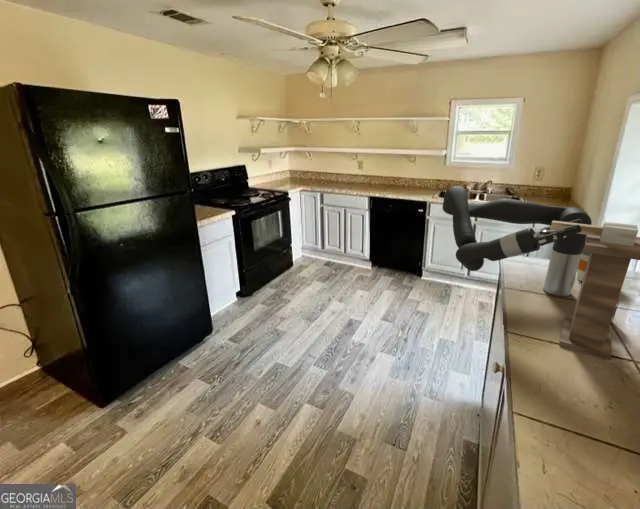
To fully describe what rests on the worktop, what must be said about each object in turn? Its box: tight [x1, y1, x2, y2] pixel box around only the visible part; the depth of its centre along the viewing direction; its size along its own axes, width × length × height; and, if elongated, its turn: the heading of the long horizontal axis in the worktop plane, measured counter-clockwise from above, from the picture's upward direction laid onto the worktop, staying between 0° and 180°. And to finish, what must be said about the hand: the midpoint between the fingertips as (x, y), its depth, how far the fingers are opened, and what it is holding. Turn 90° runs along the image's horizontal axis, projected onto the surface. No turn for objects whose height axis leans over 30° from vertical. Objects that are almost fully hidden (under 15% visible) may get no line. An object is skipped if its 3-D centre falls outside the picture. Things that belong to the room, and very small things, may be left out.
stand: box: [558, 235, 640, 361], centre depth 100 cm, size 18×12×32 cm, turn 142°
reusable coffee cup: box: [576, 248, 590, 282], centre depth 141 cm, size 13×13×15 cm
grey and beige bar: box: [550, 221, 639, 246], centre depth 96 cm, size 6×19×4 cm, turn 52°
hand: (581, 224), depth 98 cm, fingers open, 6 cm apart
